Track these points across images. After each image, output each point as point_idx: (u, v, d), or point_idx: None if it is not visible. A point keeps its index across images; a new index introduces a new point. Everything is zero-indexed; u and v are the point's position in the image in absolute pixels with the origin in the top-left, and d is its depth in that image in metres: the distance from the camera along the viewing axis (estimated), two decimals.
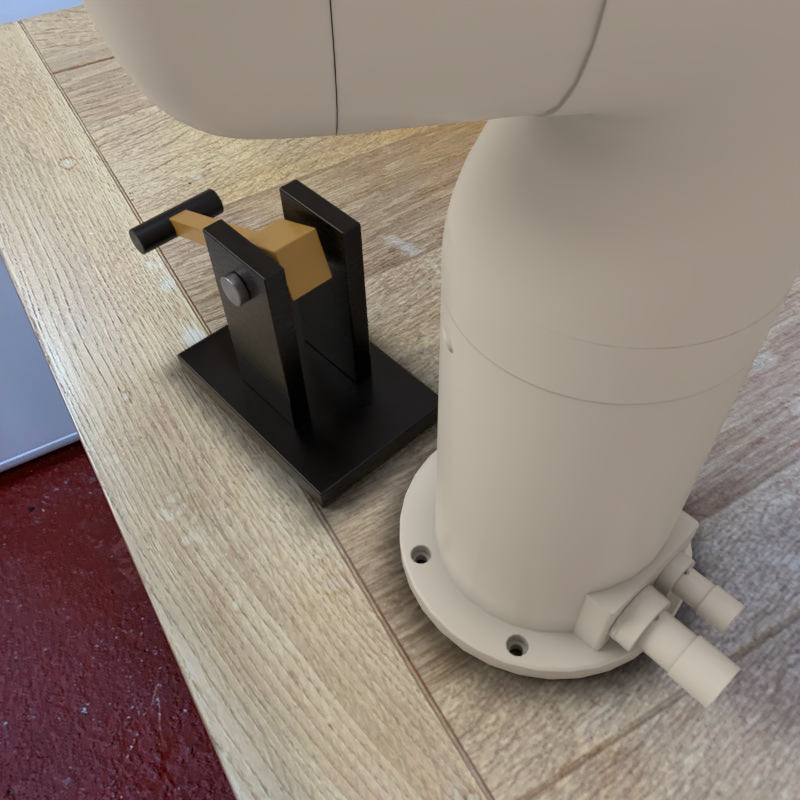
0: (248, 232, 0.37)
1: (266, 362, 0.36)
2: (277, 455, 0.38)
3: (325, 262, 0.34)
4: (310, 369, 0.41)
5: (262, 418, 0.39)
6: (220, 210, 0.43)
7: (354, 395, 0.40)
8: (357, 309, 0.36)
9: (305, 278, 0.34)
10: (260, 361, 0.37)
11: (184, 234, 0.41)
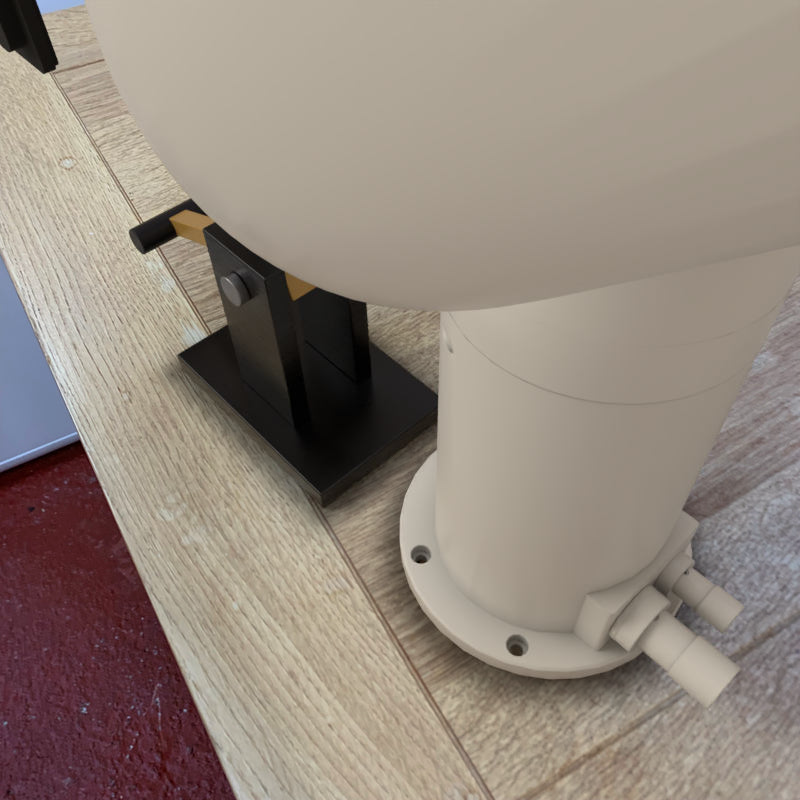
0: None
1: (266, 362, 0.36)
2: (277, 455, 0.38)
3: None
4: (310, 369, 0.41)
5: (262, 418, 0.39)
6: None
7: (354, 395, 0.40)
8: (357, 309, 0.36)
9: None
10: (260, 361, 0.37)
11: (184, 234, 0.41)
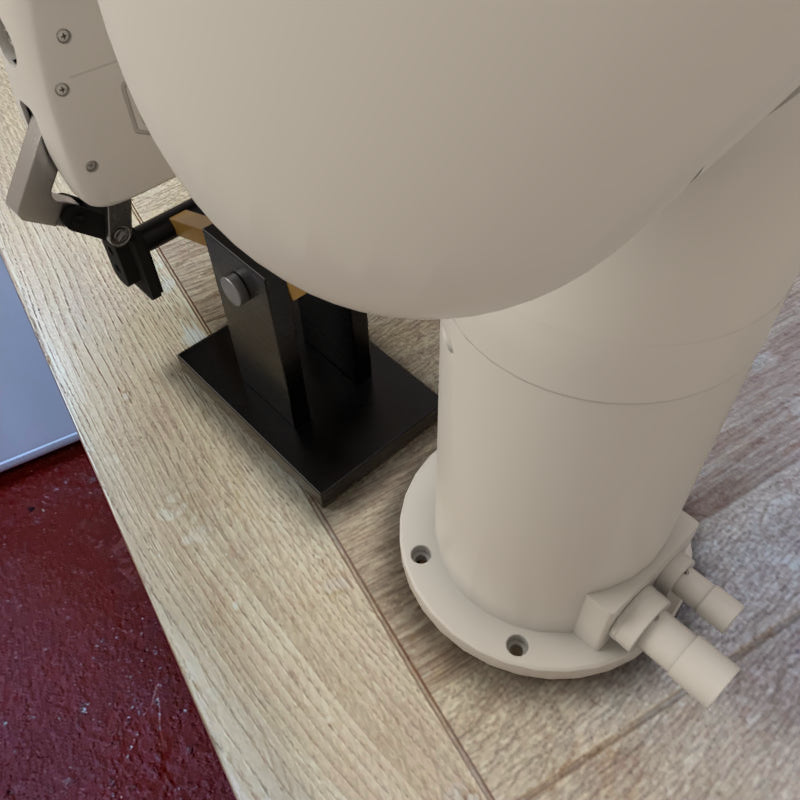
0: None
1: (266, 362, 0.36)
2: (277, 455, 0.38)
3: None
4: (310, 369, 0.41)
5: (262, 418, 0.39)
6: None
7: (354, 395, 0.40)
8: None
9: None
10: (260, 361, 0.37)
11: (184, 234, 0.41)
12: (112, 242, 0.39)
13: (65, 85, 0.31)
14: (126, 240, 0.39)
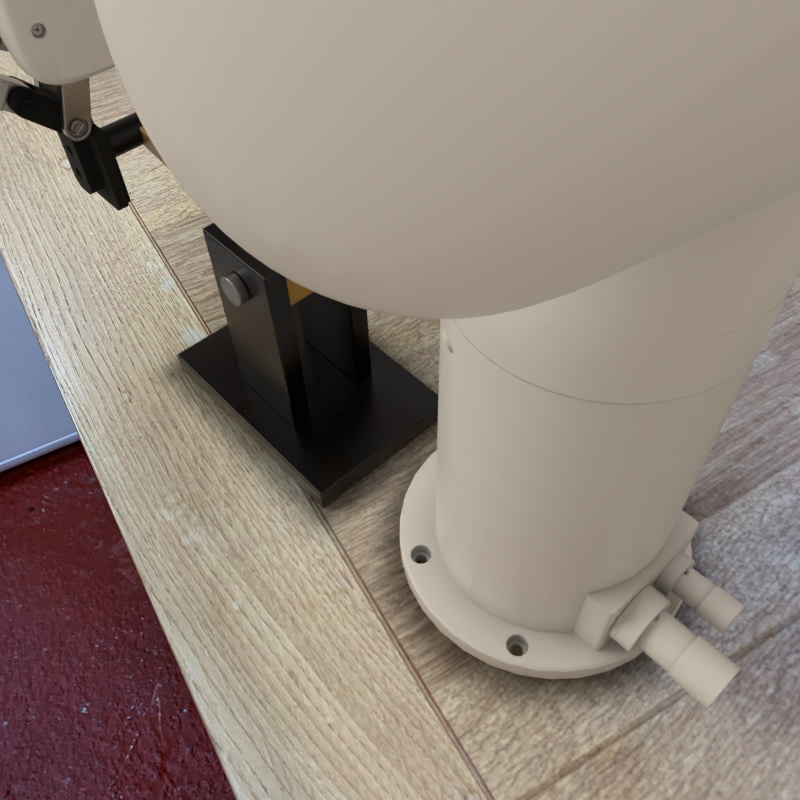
0: None
1: (266, 362, 0.36)
2: (277, 455, 0.38)
3: None
4: (310, 369, 0.41)
5: (262, 418, 0.39)
6: None
7: (354, 395, 0.40)
8: (357, 309, 0.36)
9: (304, 288, 0.34)
10: (260, 361, 0.37)
11: (155, 152, 0.38)
12: (69, 135, 0.34)
13: None
14: (85, 134, 0.35)
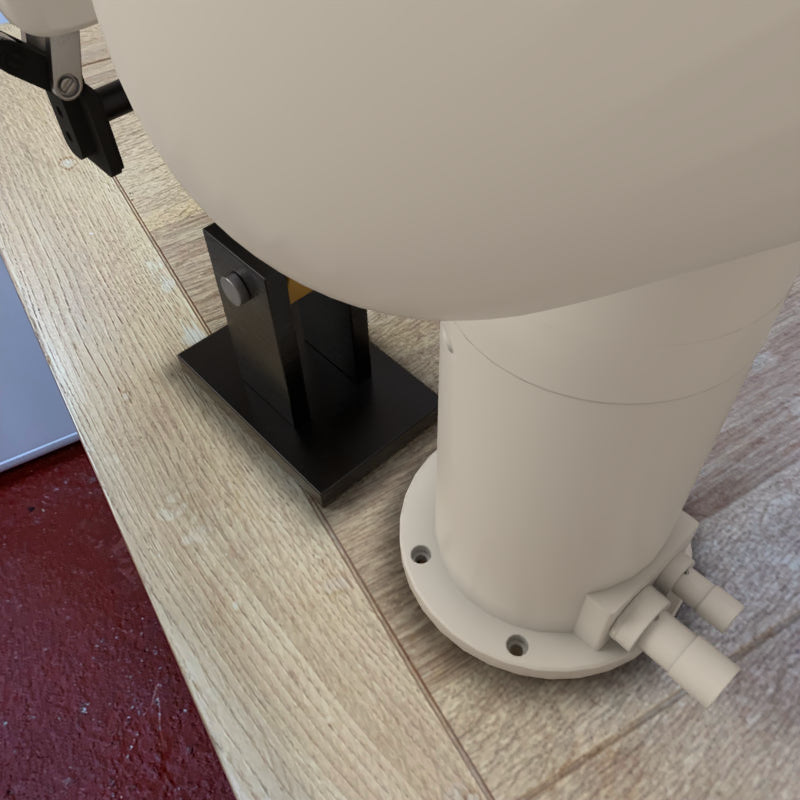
0: None
1: (266, 362, 0.36)
2: (277, 455, 0.38)
3: None
4: (310, 369, 0.41)
5: (262, 418, 0.39)
6: None
7: (354, 395, 0.40)
8: (357, 309, 0.36)
9: (302, 290, 0.34)
10: (260, 361, 0.37)
11: None
12: (58, 93, 0.32)
13: None
14: (76, 93, 0.33)
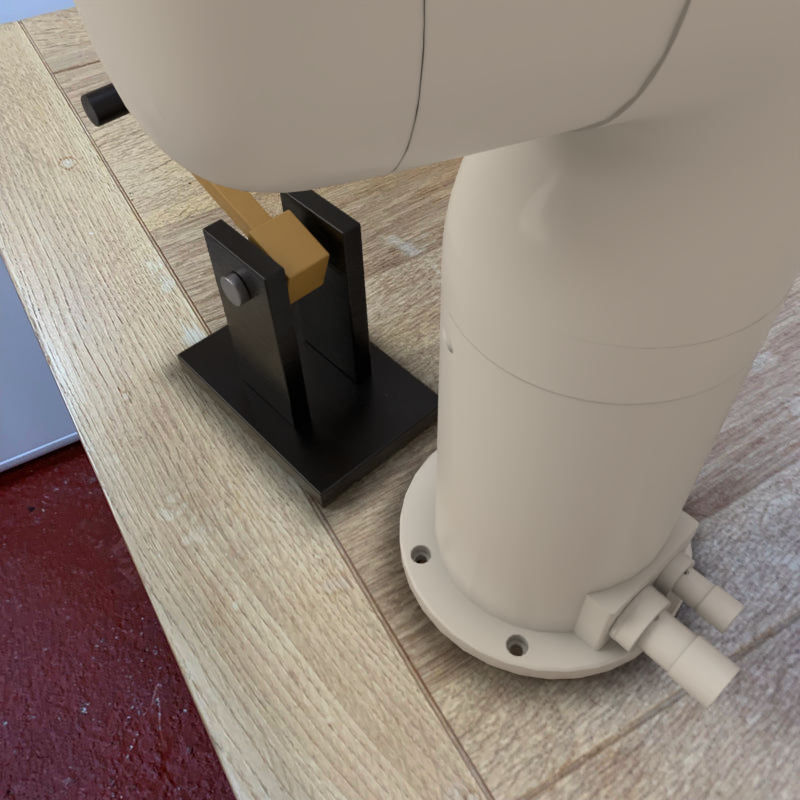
0: (243, 192, 0.35)
1: (266, 362, 0.36)
2: (277, 455, 0.38)
3: (323, 276, 0.35)
4: (310, 369, 0.41)
5: (262, 418, 0.39)
6: None
7: (354, 395, 0.40)
8: (357, 309, 0.36)
9: (302, 290, 0.34)
10: (260, 361, 0.37)
11: None
12: None
13: None
14: None
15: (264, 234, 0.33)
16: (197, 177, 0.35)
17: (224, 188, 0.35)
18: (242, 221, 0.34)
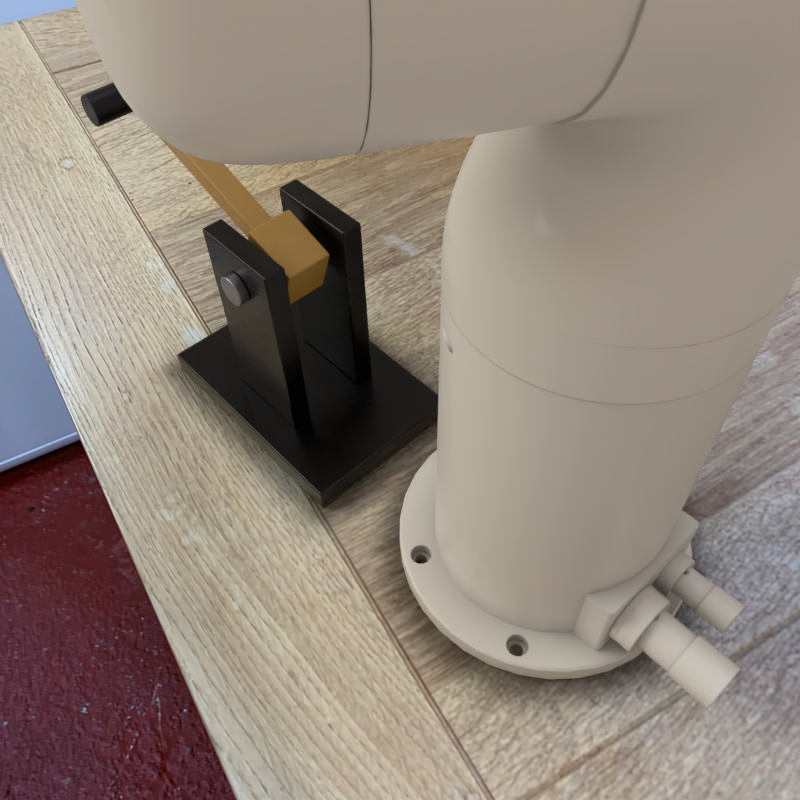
0: (243, 192, 0.35)
1: (266, 362, 0.36)
2: (277, 455, 0.38)
3: (323, 276, 0.35)
4: (310, 369, 0.41)
5: (262, 418, 0.39)
6: None
7: (354, 395, 0.40)
8: (357, 309, 0.36)
9: (302, 290, 0.34)
10: (260, 361, 0.37)
11: None
12: None
13: None
14: None
15: (264, 234, 0.33)
16: (197, 177, 0.35)
17: (224, 188, 0.35)
18: (242, 221, 0.34)
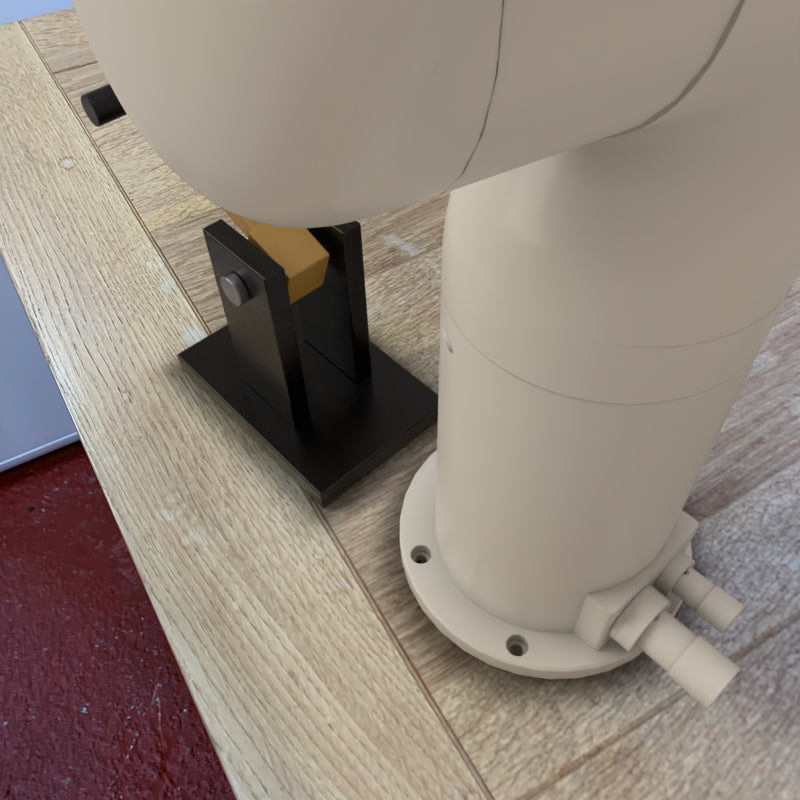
0: None
1: (266, 362, 0.36)
2: (277, 455, 0.38)
3: (323, 276, 0.35)
4: (310, 369, 0.41)
5: (262, 418, 0.39)
6: None
7: (354, 395, 0.40)
8: (357, 309, 0.36)
9: (302, 290, 0.34)
10: (260, 361, 0.37)
11: None
12: None
13: None
14: None
15: (264, 234, 0.33)
16: None
17: None
18: (242, 221, 0.34)
